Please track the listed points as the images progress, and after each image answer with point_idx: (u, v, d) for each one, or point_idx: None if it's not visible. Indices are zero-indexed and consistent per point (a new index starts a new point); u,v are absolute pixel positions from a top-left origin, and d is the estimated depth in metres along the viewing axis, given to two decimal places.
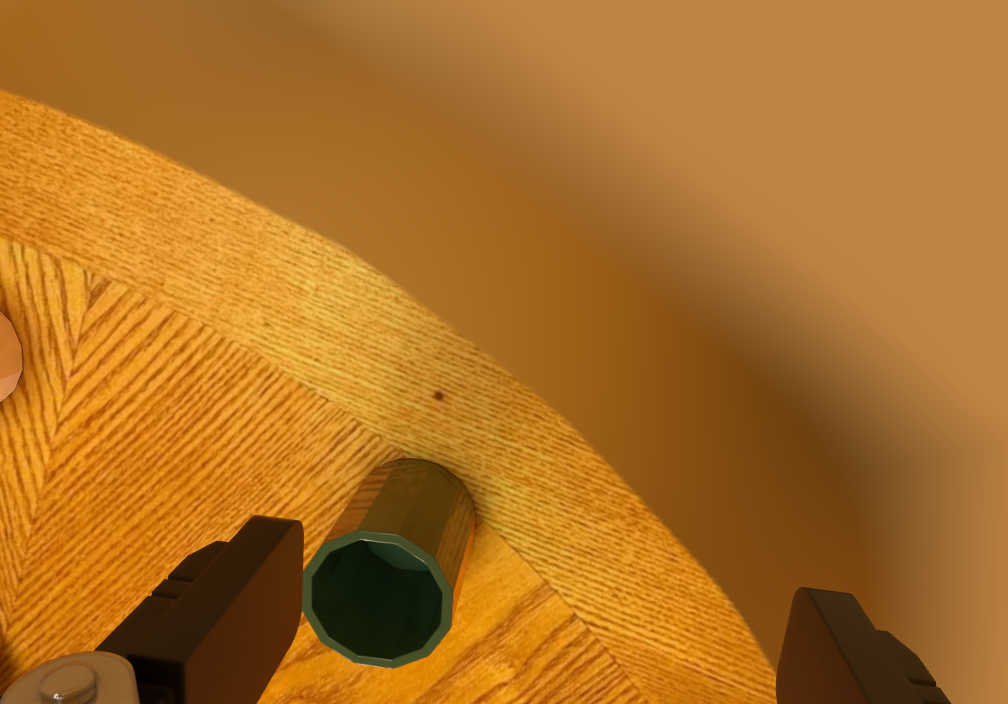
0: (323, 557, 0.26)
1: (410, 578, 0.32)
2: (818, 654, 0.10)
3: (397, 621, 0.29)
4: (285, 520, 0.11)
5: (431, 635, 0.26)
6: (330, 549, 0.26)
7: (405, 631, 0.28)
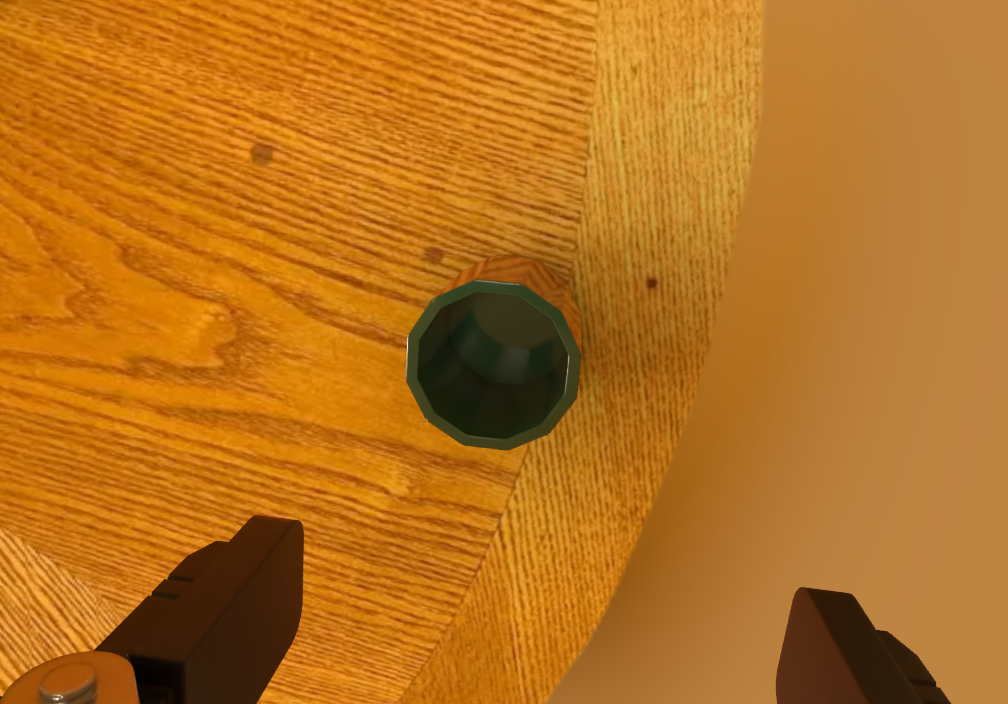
0: (509, 292, 0.22)
1: (455, 358, 0.29)
2: (818, 654, 0.10)
3: (443, 383, 0.26)
4: (285, 520, 0.11)
5: (486, 436, 0.24)
6: (522, 295, 0.22)
7: (448, 401, 0.25)
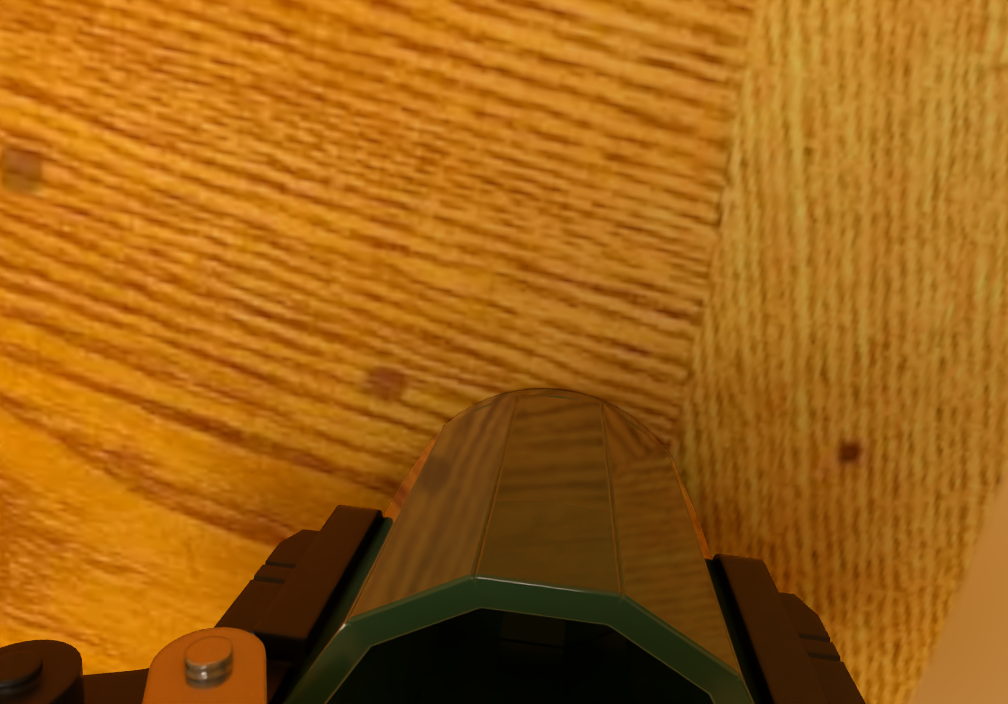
0: (580, 617, 0.07)
1: None
2: None
3: None
4: (368, 510, 0.12)
5: None
6: (622, 626, 0.07)
7: None
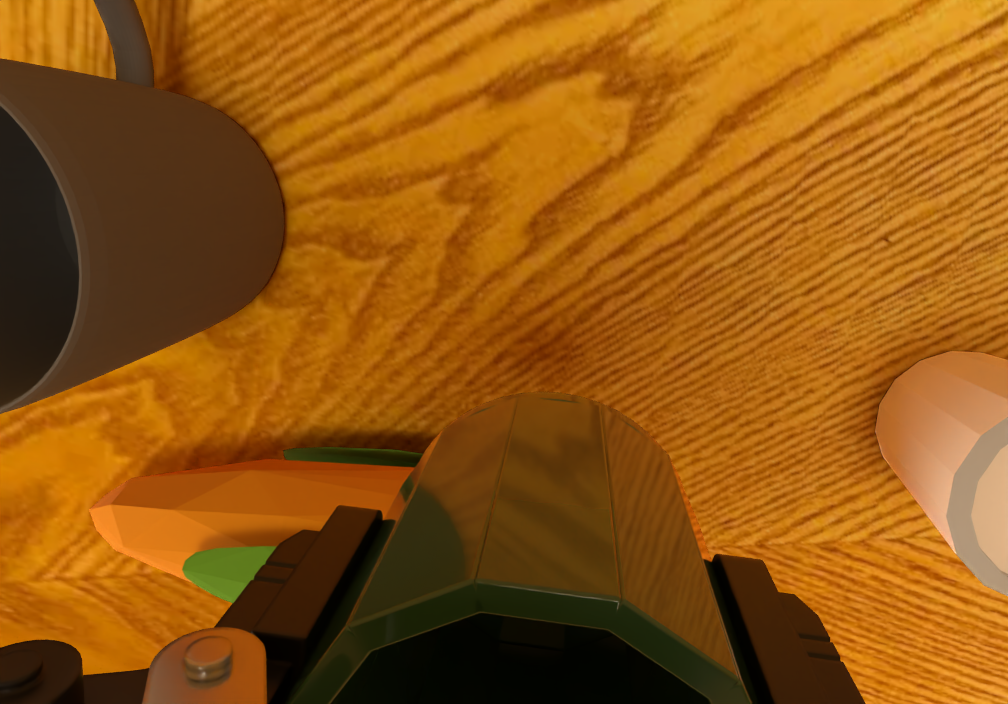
0: (579, 622, 0.07)
1: None
2: None
3: None
4: (368, 510, 0.12)
5: None
6: (621, 631, 0.07)
7: None
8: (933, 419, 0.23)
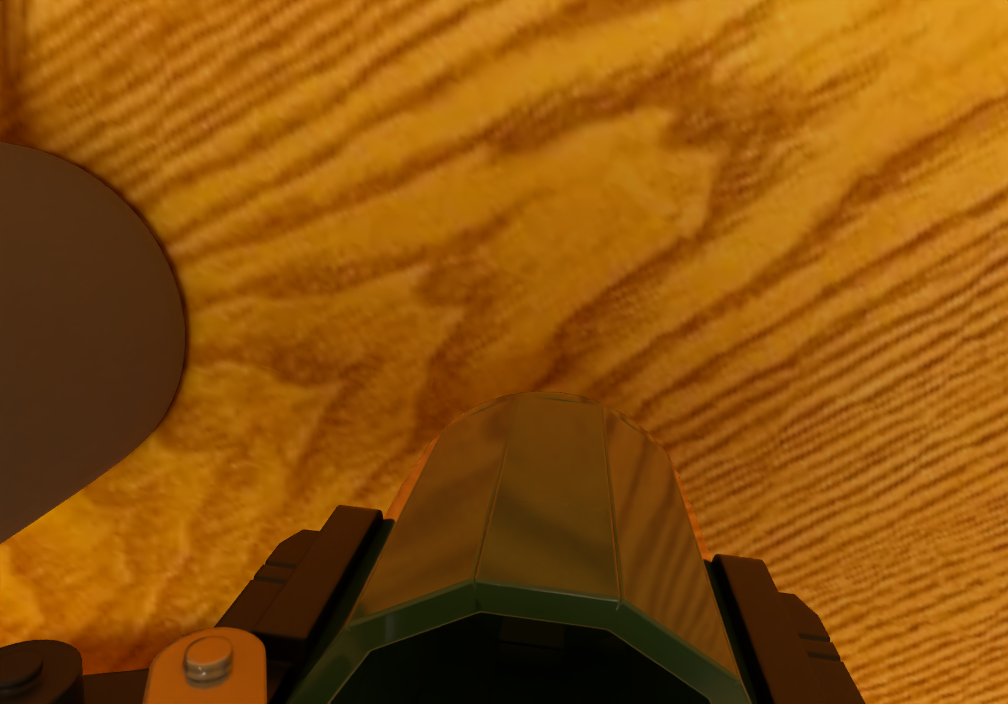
0: (579, 622, 0.07)
1: None
2: None
3: None
4: (368, 510, 0.12)
5: None
6: (621, 631, 0.07)
7: None
8: None
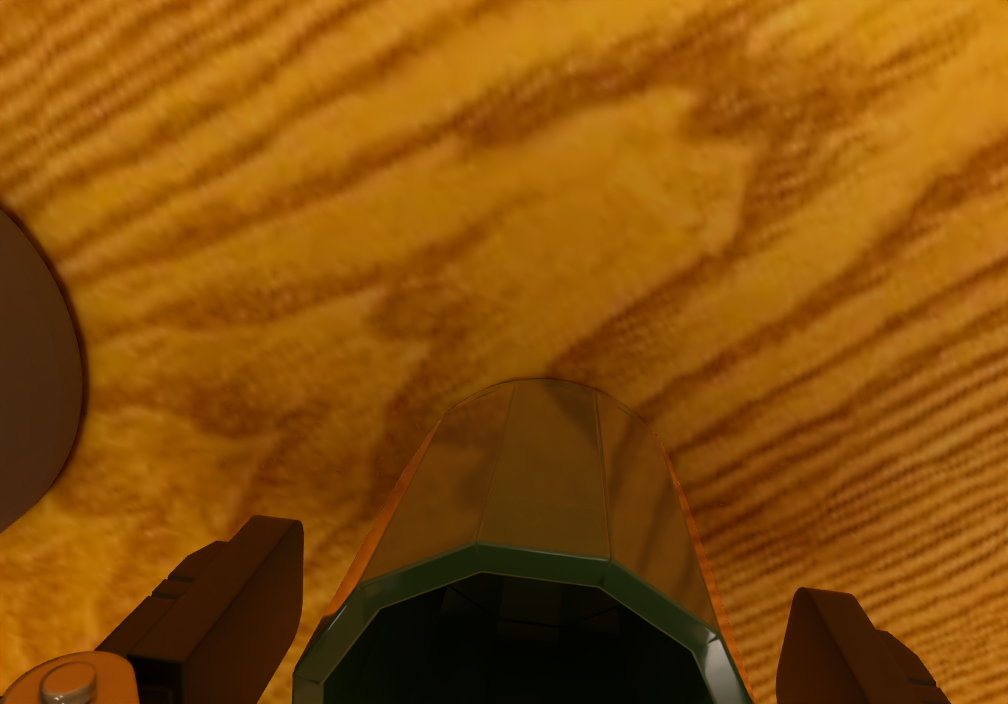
0: (572, 580, 0.08)
1: None
2: (818, 654, 0.10)
3: (398, 701, 0.11)
4: (285, 520, 0.11)
5: None
6: (611, 588, 0.08)
7: None
8: None
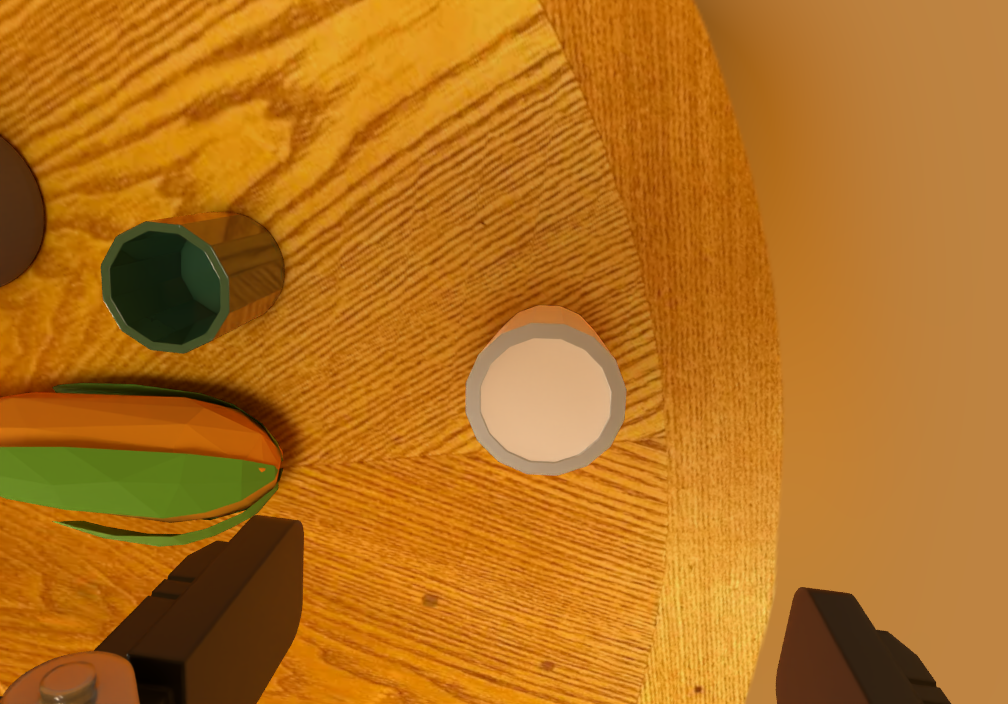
0: (171, 231, 0.30)
1: (182, 293, 0.36)
2: (818, 654, 0.10)
3: (151, 307, 0.33)
4: (285, 520, 0.11)
5: (167, 342, 0.31)
6: (181, 233, 0.30)
7: (150, 319, 0.33)
8: None
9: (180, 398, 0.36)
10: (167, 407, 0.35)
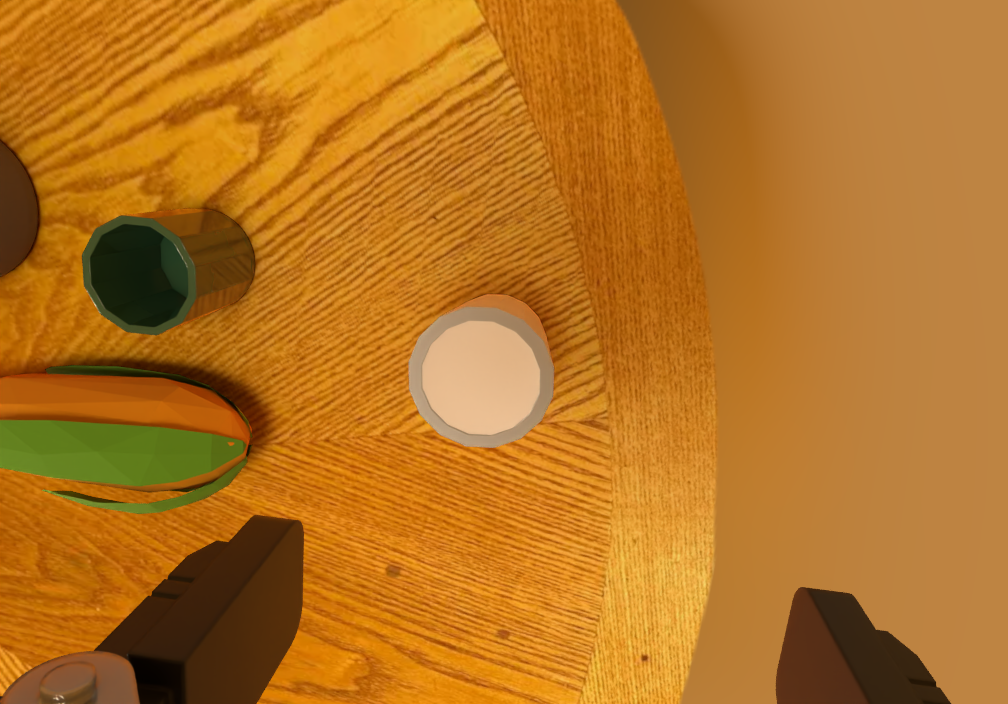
0: (143, 224, 0.33)
1: (161, 282, 0.39)
2: (818, 654, 0.10)
3: (130, 294, 0.36)
4: (285, 520, 0.11)
5: (141, 325, 0.35)
6: (152, 226, 0.33)
7: (128, 305, 0.36)
8: None
9: (158, 379, 0.39)
10: (145, 386, 0.38)
